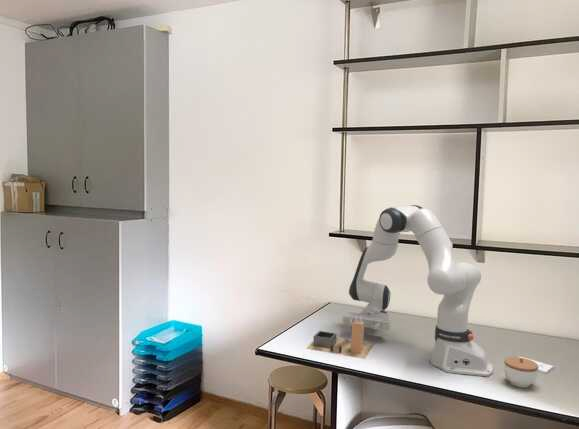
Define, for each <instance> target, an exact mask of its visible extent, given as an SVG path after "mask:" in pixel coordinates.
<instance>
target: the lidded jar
mask: <svg viewBox="0 0 579 429" xmlns="http://www.w3.org/2000/svg"><path fill="white" fill-rule="evenodd" d="M520 357H521V356H509V357H506V358H504V361H503V362H504V368H503V369H504V374H505V376H506V378H507V380H508V381H509V383H510V384H511V385H512V386H515V387H518V388H521V389H522V388H525V389H526V388H529V387H530V386H531V385H533V384H534V382H535V381H536V380H537V376H538V373H539V372H538V365H537V363H535V362H533V361H531V360H532V359H531V360H529V359H530V358H527V359H525V358H526V357H524V358H520Z"/></svg>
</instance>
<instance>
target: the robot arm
mask: <svg viewBox="0 0 579 429" xmlns="http://www.w3.org/2000/svg"><path fill="white" fill-rule="evenodd" d="M409 232H412V234H413V235H414V237H415V239H416V240H417V242H418V244H419V246H420V248H421V250H422V252H423V254H424V256H425V258H426V261H427V265H428V275H427V279H426V280H427V286H428V288H429V289H430V291H432V292H433V293H434V294H436V295H441V296H443V297H442V299H441V301H440V302H439V304H438V305H437V316H436V325H435V328H434V340H435V341H434V346H433V350H432V351H433V352H432V354H431V357H430V360H429V361H430V363H431V364H432V365H433V366H435V367H436V368H439V369H441V370H442V371H444V372H446V373H449V374H460V375H470V376H480V377H489V376H492V374H493V373H494V371H493V370H494V368H493V364H492V363H490V362H489V361H488V360H487V359H488V358H487V354H486V352H485V349H484V348H482V347H481V346H480V345H479V344H477V343H476V342H475V341H474V334H473V331H472V330H469V329H468V322H469V320H468V319H469V312H470V311H469V310H470V306H471V302H472V299H473V297H474V293H475V290H476V288H477V286H478V285H479V284H480V282H481V281H482V280H481V279H482V272H481V270H480V269H479V267H478V266H477V265H475V264H473V263H470V262H466V261H465V262H464V261H461V262H456V261H455V260H454V257H453V253H452V250H453V245H454V244H453V243H452V241H451V240H450V238H449V236H448V234H447V233H446V232H447V231H446V230H445V229H444V227H443V225H442V224H441V222H440V220H438V218H437V216H436V215H435V214H434V213H433V212H432V211H431V210H430V209H429V208H425V207H423V206H420V205H417V204H413V205H398V206H393V207H387V208H386V209H383V211H381V213H380V214H379V217H378V219H377V222H376V224H375V228H374V231H373V236H372V240H371V243H370V245H369V246H367V247H365V248H364V249H363V251H362V253H361V254H360V257H359V260H358V264H357V267H356V270H355V272H354V274H353V278H352V281H351V283H350V284H349V286H348V287H349V288H348V294H349V296H350V298H351V299H352V300H353V301H358V302H363V303H367V305H366V306H364V308H363V309H362V310H361V311H360V312H359V313H358V312H354V311H349V312H347V313H345V314H344V315H343V316H342V323H343V324H344V325H349V327H352V322H353V321H354V320H355V317H356V316H358V317H357V321H359V318H360V317H362V321H364V328H368V329H372V330H384V331H389V330H390V329H391V314H390V312H388V311H386V309H388V307H389V304H390V301H391V291H390V288H389V286H387V285H385V284H383V283H378V282H374V281H370V280H366V279H365V278H364V277H365V273H366V271H367V267H368V265H369V264H371V263H374V262H382V261H383V262H384V261H386V260H389V259H391V258H393V256H395V254H396V252H397V251H398V250H397V249H398V245H399V238H400V234H401V233H409Z"/></svg>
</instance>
